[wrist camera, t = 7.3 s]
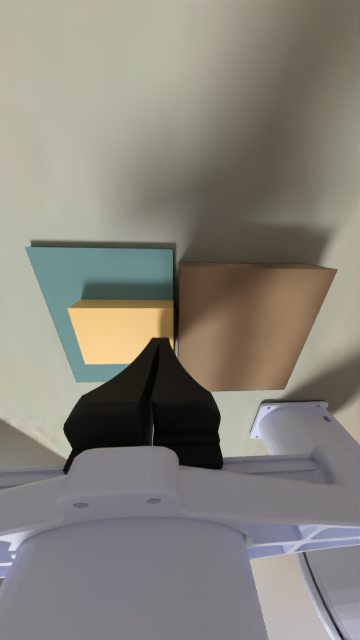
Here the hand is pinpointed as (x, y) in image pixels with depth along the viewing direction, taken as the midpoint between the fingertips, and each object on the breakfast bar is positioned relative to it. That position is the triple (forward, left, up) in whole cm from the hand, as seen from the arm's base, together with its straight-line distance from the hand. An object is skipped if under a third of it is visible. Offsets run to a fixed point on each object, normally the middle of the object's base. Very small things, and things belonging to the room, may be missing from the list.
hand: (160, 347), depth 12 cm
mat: (+4, 0, -4) cm, 6 cm away
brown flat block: (-7, 0, -4) cm, 8 cm away
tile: (+3, 0, -3) cm, 4 cm away
